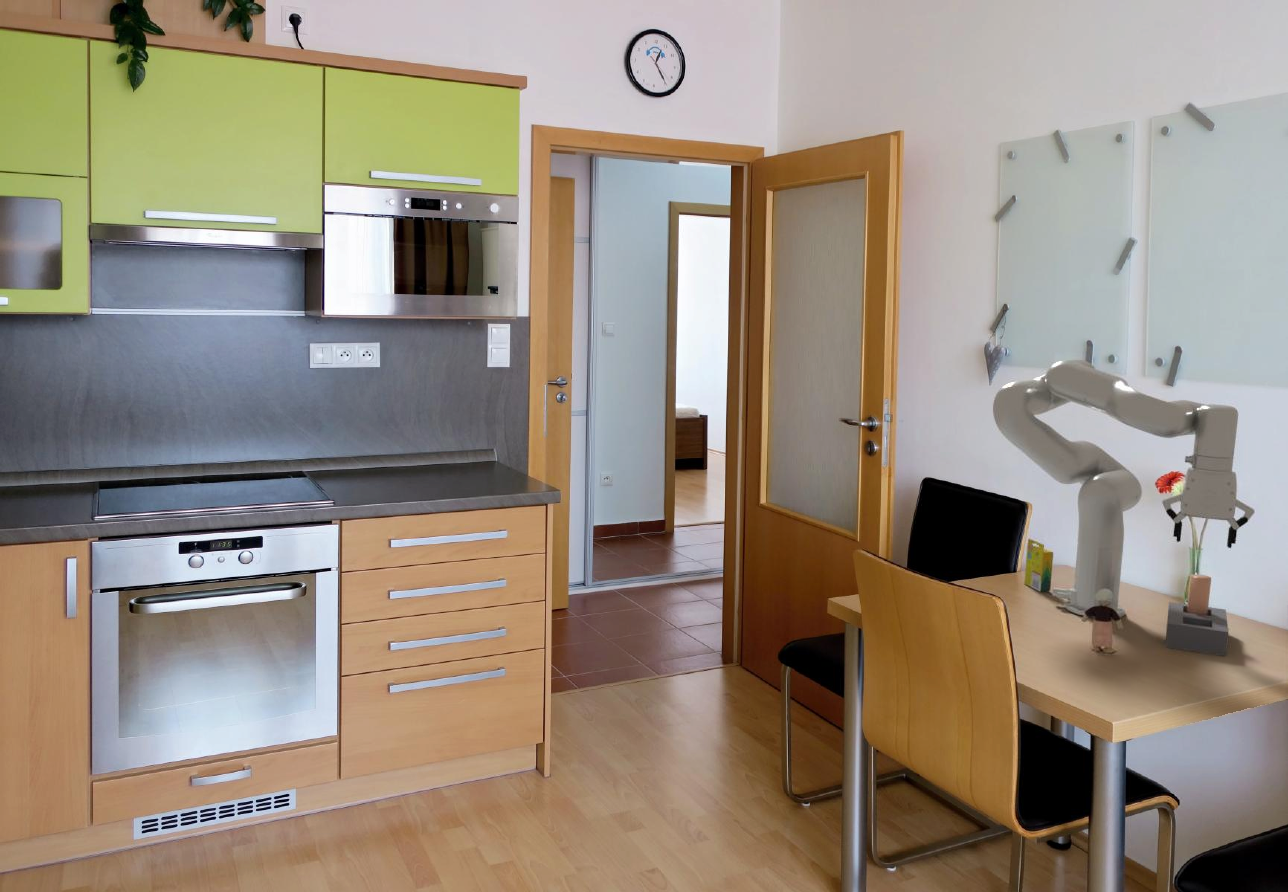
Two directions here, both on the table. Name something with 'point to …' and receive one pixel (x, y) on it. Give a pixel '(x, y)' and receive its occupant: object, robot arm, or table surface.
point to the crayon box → (1038, 567)
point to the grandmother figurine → (1102, 621)
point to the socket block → (1197, 630)
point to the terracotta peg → (1198, 594)
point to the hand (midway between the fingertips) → (1203, 543)
